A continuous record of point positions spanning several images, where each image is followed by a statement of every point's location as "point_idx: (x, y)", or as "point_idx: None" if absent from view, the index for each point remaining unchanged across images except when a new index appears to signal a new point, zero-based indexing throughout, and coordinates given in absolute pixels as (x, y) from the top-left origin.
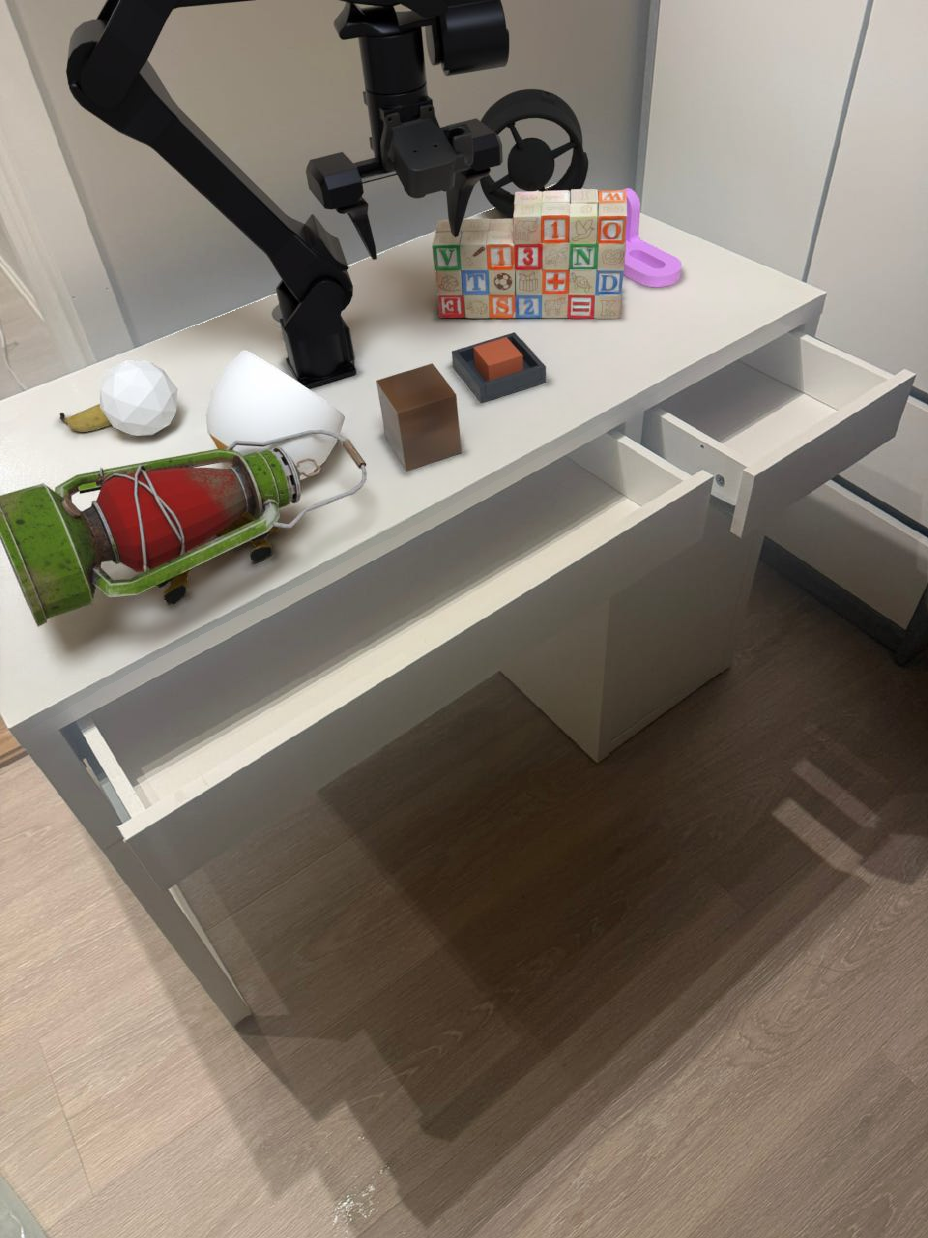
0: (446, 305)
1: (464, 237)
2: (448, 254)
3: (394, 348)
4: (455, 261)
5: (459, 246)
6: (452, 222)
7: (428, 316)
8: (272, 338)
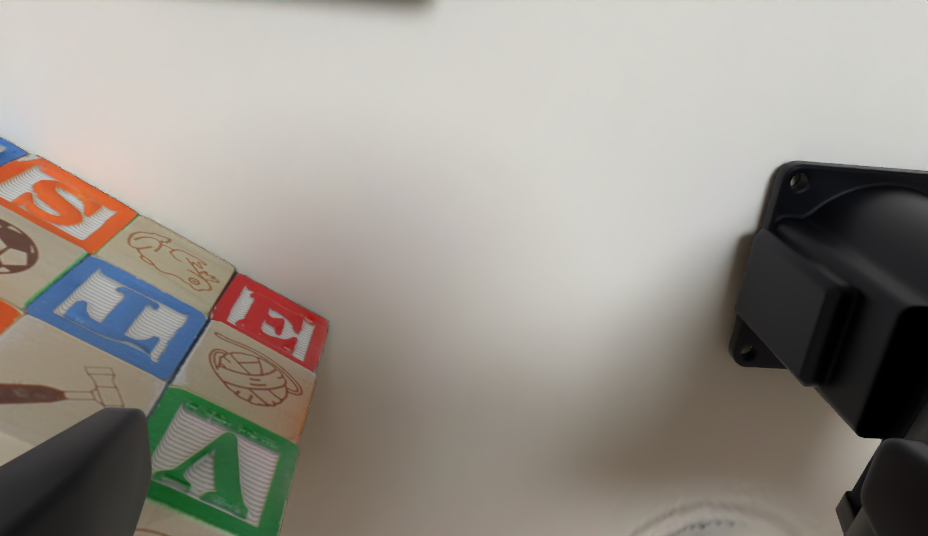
0: (291, 334)
1: None
2: (203, 471)
3: (570, 240)
4: (180, 428)
5: None
6: (97, 526)
7: (358, 359)
8: None
